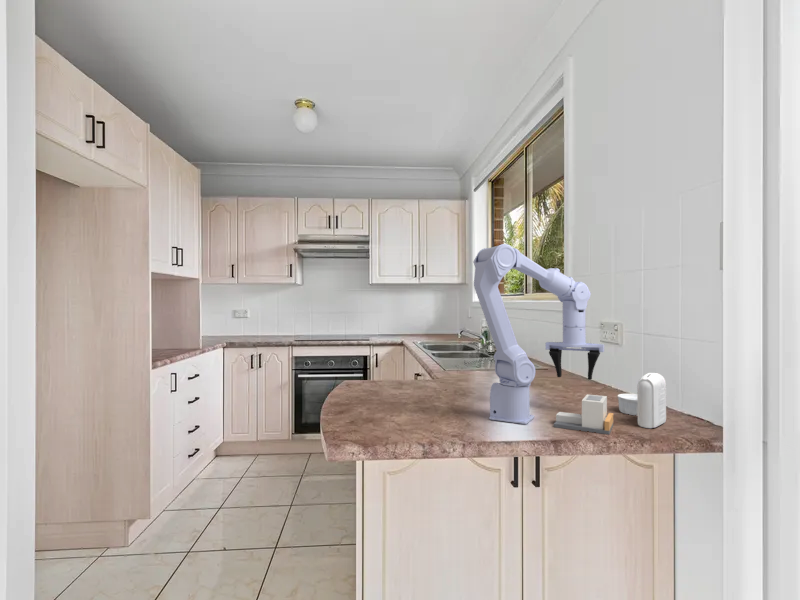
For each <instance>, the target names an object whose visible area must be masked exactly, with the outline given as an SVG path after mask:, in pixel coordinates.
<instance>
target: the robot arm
mask: <svg viewBox="0 0 800 600" xmlns="http://www.w3.org/2000/svg"><path fill="white" fill-rule="evenodd" d="M472 262H473V266H474V277H473V280H474V281H473V288H474V290H475V294H476V296H477V299H478V301H479V304H480V307H481V310H482V312H483V316H484V318H485V321H486V323H487V326H488V329H489V333H490V336H491V339H492V341H493V344H494V347H495V349H496V351H495V353H494V355H493V360H494V372H495V374H496V376H497V377H498V379H499V382H493V383H492V384H491V387H490V391H489V420H493V421H498V422H500V421H501V422H507V423H514V424H523V425H528V423H530V422H531V421H532V420H534V419H535V415H533V414H530V409H531V407H530V403H531V402H530V401H531V400H530V398H531V397H530V395H531V394H530V386H532V385H531V383H532V382H533V381H534V379H535V376H536V367H535V364H534V363H533V362H532V361H531V360H530V359H529V357H528V355H527V352H526V351H525V350H524V349H523V348H522V347H521V346H520V345H519V343H518V341H517V338H516V334H515V332H514V329H513V326H512V323H511V321H510V318H509V315H508V312H507V310H506V307H505V304H504V301H503V297H502V295H501V292H500V289H499V285H500V284H501V282H502V279H503V278H504V277H505V276H506V275H507V274H508V272H510V270H516V271H517V272H520V273H522V274H524V275H526V276H528V277H530V278H533V279H534V280H537V281H538V284H539V286H540V287H541V289H544V290H546V291H547V292H549V293H551V294H553V296H556V297H557V298H558V301H559V302H560V303H562V341H557V342H556V341H546V342H545V350H549V351H548V354H549V356H550V358H551V360H552V362H553V365H554V368H555V371H556V376H557V378H561V377H562V375H563V374H562V353H563V351H573V352H574V351H577V352H578V351H580V352H587V365H588V366H587V368H588V369H587V370H588V371H587V380H592V379H593V372H594V369H595V366H596V363H597V361H598V359H599V357H600V354H601V353H605V344H604V343H591V342H590V343H589V342H587V340H586V339H587V337H586V335H587V334H586V333H587V332H586V331H587V330H586V325H587V324H586V323H587V322H586V321H587V320H586V319H587V318H586V312H587V311H586V310H587V308H588V302H589V300H590V298H591V296H592V295H591V294H592V292H591V291H590V289H589V287H588V285H587V284H586V283H584V282H583V281H576V280H575V279H574V278H573V277H572V276H567V275H565V274H564V273H562V272H561V269H559V268H557V267H554V268H553V267H550V268H547V269H546V268H544V267H543V266H541V265H540V264H538V263H536V262H535V261H534V260H532V259H531V258H529V257H528V256H526V255H525V254H523V253H522V252H520V250H519V249H518V248H515V247H513V246H512V245H510V244H508V243H507V244H506V243H502V244H500V245H496V246H492V247H486V248H482V249H481V250H479V251H478V252H477V254H476V256H475V258H474V260H473V261H472Z"/></svg>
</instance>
